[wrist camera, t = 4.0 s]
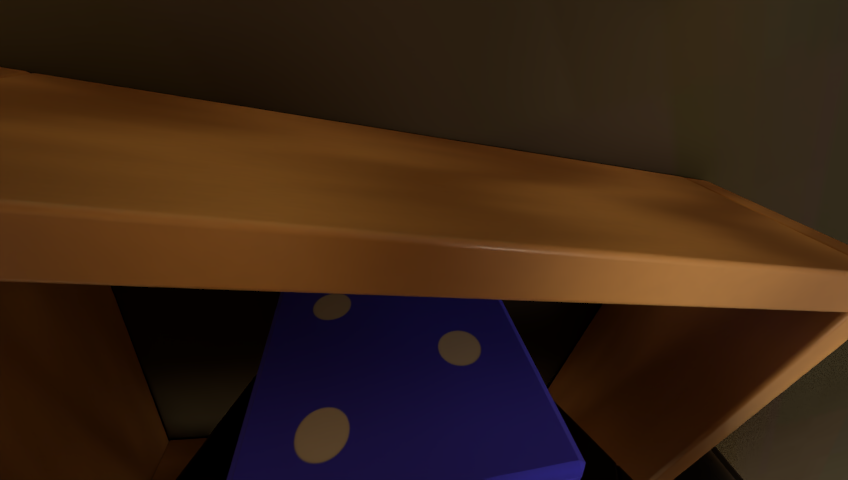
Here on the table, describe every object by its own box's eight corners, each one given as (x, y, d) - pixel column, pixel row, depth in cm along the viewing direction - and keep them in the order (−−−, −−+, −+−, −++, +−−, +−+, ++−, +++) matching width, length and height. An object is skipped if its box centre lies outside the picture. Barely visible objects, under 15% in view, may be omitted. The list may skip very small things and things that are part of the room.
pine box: (706, 179, 8) (926, 279, 5) (538, 427, 14) (591, 546, 11) (-36, 61, 5) (-832, 134, 2) (145, 454, 11) (53, 642, 8)
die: (319, 396, 11) (294, 630, 7) (282, 277, 8) (200, 550, 4) (468, 373, 11) (530, 573, 7) (481, 256, 9) (595, 470, 5)
